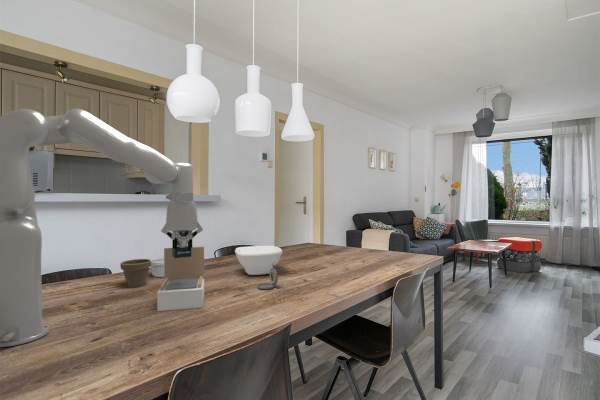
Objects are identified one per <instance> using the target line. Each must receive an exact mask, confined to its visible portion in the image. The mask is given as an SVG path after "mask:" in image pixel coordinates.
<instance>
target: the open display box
mask: <svg viewBox="0 0 600 400" xmlns="http://www.w3.org/2000/svg"><path fill="white" fill-rule="evenodd" d="M163 250H164V251H163V255H164V256H163V258H164V277H163V278H164V280H163V282H162V283H161V285H160V286H159V289H158V291H157V297H156V301H157V304H156V305H157V306H156V307H157V309H156V311H157V312H160V311H161V312H163V311H176V310H187V309H188V310H189V309H198V308H199V309H200V308H203V307H204V299H205V246H192V248H191V257H182V258H174V257H173V256H172V247H164V249H163Z"/></svg>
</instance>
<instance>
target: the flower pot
mask: <svg viewBox="0 0 600 400" xmlns="http://www.w3.org/2000/svg"><path fill="white" fill-rule="evenodd" d="M151 260H152V259H148V258H137V259H136V258H135V259H130V260H125V261H121V262H120V265H119V266H120V269H121V270H122V272H123V274H124V278H125V281H126V284H127V287H129V288H139V287H143V286H144V285H146V283H147V278H148V274H149V269H150V268H151Z"/></svg>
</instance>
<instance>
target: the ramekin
mask: <svg viewBox="0 0 600 400" xmlns="http://www.w3.org/2000/svg"><path fill="white" fill-rule="evenodd" d="M150 260H151V266H150V272H151V275H152V276H153V277H156V278H164V257H161V258H154V259H150Z"/></svg>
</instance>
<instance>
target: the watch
mask: <svg viewBox="0 0 600 400" xmlns="http://www.w3.org/2000/svg"><path fill="white" fill-rule="evenodd" d="M192 232H193V231H192ZM192 232H191V231H179V230H177V231H176V237H177V243H178V247H177V248H176V249H173V248H172V247H171V248H172V256H173V257H174V258H182V257H191V248H190V251H188V241H189V238H190V235H191V234H192Z"/></svg>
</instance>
